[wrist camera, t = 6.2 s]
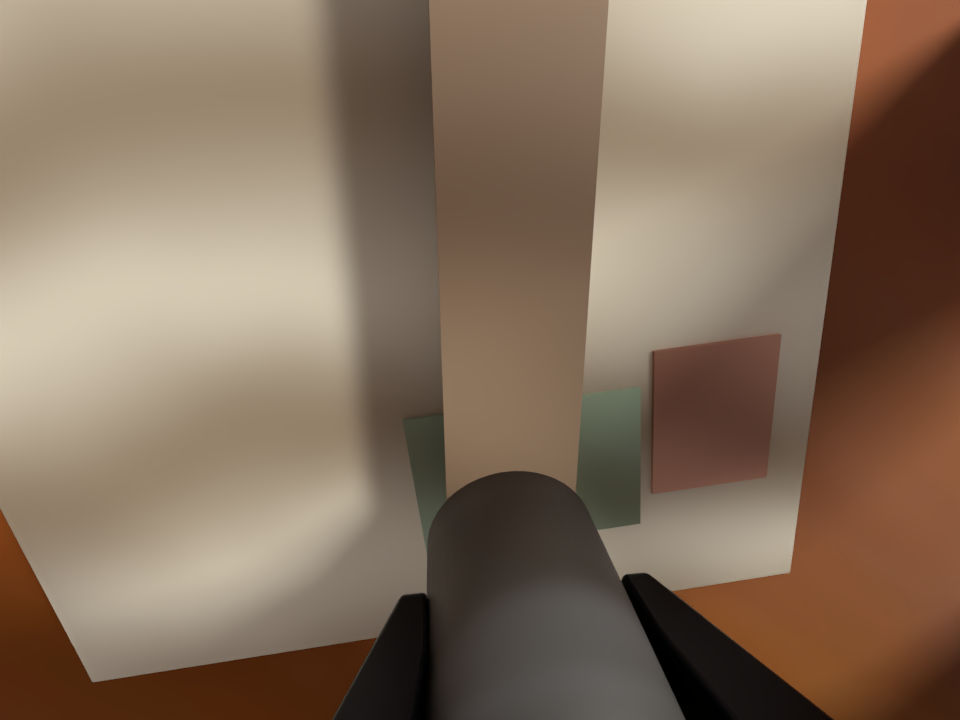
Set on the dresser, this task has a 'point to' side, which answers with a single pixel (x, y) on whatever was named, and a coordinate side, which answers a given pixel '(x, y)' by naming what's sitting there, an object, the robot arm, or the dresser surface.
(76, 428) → the board
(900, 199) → the dresser surface
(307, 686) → the dresser surface
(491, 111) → the lever
